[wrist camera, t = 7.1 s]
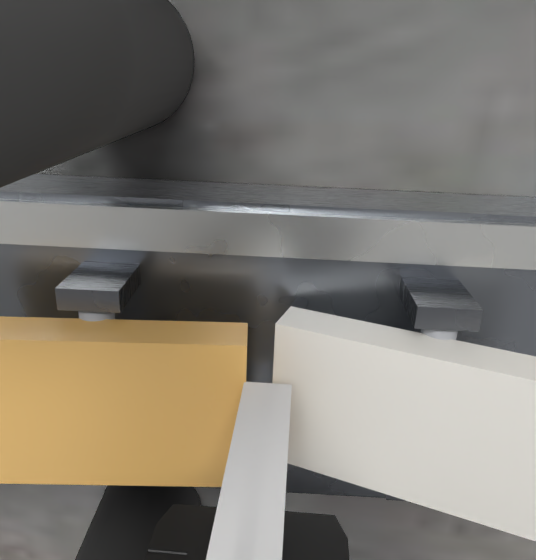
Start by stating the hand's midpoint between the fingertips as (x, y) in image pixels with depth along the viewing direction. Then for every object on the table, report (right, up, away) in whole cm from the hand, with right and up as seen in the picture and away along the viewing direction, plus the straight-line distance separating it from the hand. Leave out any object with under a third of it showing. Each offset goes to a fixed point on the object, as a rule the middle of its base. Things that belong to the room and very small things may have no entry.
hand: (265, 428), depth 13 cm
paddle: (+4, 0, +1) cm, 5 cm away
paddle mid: (-5, +1, +1) cm, 5 cm away
